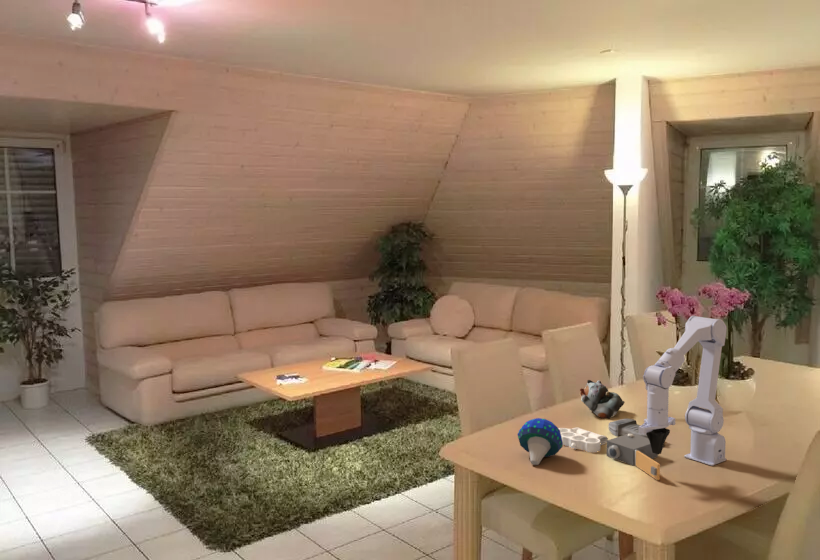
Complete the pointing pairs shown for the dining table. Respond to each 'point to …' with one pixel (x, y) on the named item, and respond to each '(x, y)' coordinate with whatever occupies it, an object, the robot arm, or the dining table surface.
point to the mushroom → (540, 439)
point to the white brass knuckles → (582, 439)
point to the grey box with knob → (629, 448)
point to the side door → (647, 465)
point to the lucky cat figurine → (600, 399)
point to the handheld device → (624, 427)
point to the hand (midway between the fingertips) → (656, 453)
